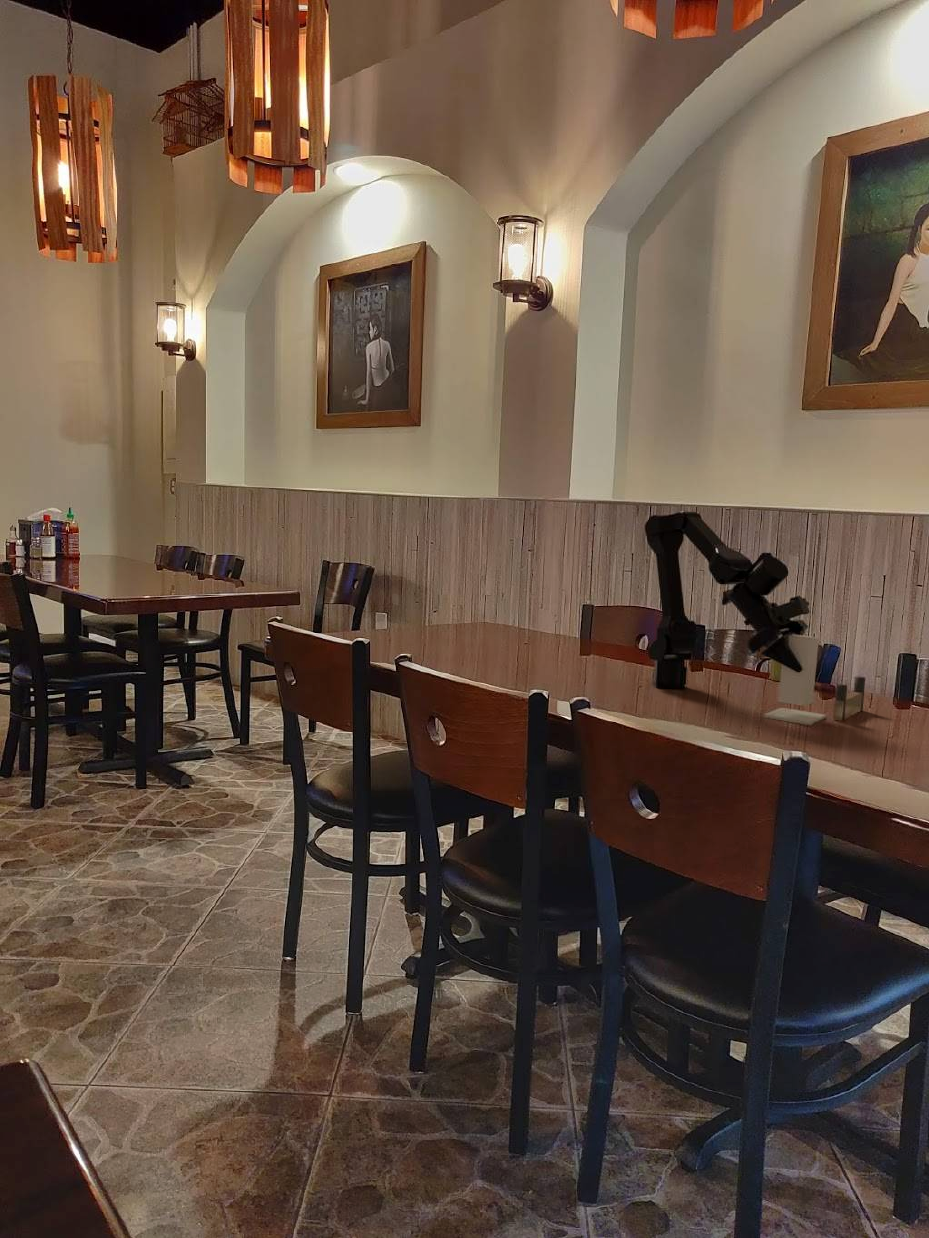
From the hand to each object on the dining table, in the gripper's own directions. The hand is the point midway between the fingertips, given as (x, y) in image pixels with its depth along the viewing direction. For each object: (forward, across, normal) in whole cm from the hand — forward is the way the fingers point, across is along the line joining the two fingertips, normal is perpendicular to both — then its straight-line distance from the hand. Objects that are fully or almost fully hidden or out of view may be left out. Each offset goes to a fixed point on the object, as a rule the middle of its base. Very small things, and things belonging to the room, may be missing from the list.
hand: (805, 669), depth 183 cm
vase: (-6, +40, +20) cm, 45 cm away
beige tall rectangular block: (+4, 0, +6) cm, 7 cm away
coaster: (+6, 0, +8) cm, 10 cm away
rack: (+11, +10, +3) cm, 16 cm away
